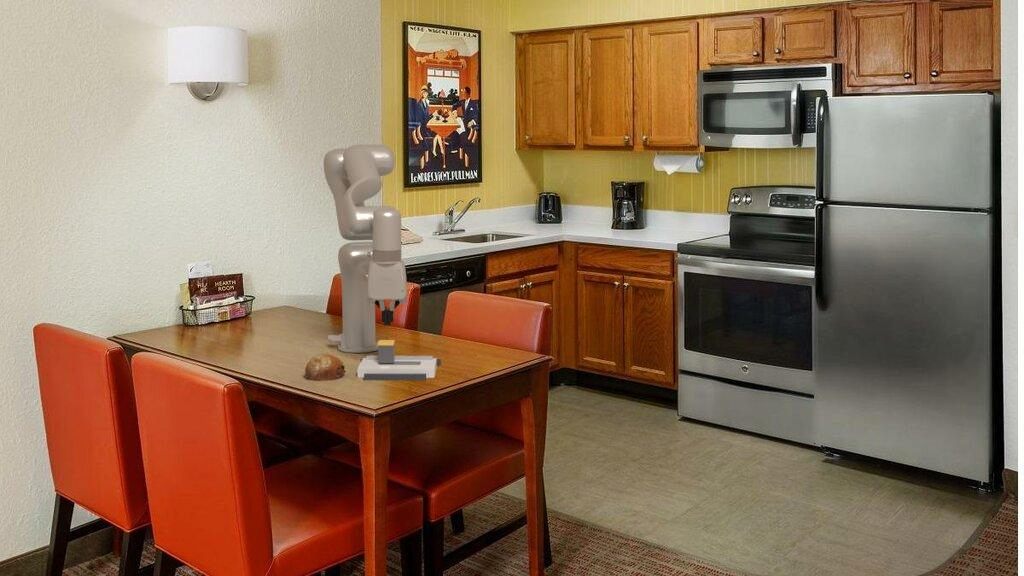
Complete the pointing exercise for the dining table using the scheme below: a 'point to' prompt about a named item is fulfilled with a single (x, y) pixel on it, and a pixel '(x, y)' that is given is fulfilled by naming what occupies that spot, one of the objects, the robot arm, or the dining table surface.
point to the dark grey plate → (397, 375)
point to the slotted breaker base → (399, 366)
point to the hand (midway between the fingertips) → (387, 324)
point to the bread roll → (324, 368)
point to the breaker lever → (386, 351)
